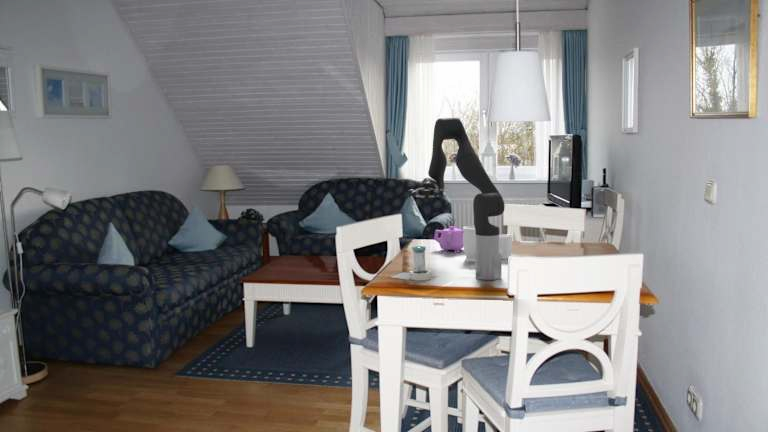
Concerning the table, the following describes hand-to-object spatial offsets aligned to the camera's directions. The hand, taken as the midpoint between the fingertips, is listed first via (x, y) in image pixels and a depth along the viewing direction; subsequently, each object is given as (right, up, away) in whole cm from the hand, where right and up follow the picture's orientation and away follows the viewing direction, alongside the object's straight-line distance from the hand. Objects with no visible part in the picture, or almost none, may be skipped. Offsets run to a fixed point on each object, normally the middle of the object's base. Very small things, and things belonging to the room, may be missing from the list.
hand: (424, 194), depth 278 cm
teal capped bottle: (-2, -33, -12) cm, 35 cm away
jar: (+24, -29, +26) cm, 46 cm away
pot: (+16, -25, +52) cm, 60 cm away
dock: (-5, -34, -9) cm, 35 cm away
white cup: (+37, -28, +32) cm, 56 cm away
